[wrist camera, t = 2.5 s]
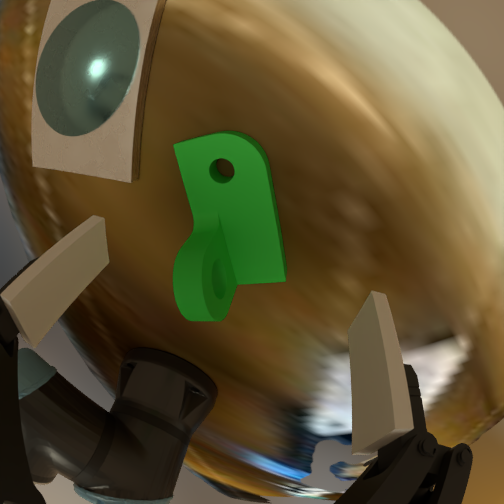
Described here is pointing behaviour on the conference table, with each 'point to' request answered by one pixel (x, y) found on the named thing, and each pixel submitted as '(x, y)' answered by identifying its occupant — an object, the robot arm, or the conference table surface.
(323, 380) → the conference table surface
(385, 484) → the robot arm
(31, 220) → the conference table surface
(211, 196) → the mechanical part
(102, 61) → the carrier plate
